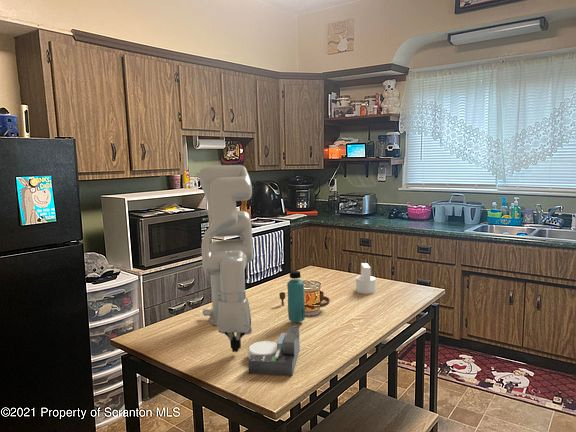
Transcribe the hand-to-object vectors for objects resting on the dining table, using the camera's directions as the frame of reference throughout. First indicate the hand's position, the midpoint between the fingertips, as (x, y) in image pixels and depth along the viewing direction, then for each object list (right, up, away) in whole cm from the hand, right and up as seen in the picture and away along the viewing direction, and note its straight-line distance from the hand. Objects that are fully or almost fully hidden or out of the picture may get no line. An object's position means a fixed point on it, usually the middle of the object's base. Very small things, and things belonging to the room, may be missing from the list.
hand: (235, 350), depth 139 cm
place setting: (+25, +5, +49) cm, 55 cm away
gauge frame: (+13, -2, -5) cm, 14 cm away
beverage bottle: (+20, +2, +26) cm, 33 cm away
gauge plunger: (+14, -1, -5) cm, 15 cm away
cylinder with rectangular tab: (+53, +8, +62) cm, 82 cm away
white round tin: (+9, -2, -2) cm, 10 cm away
